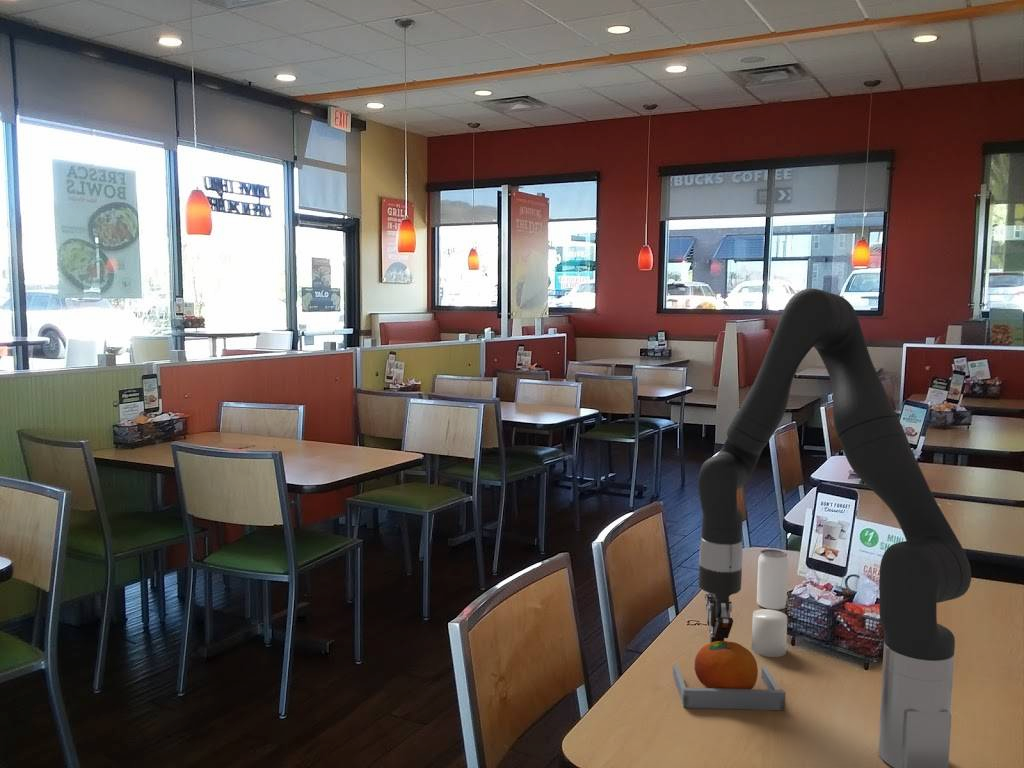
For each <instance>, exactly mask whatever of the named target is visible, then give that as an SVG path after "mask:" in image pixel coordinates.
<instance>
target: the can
mask: <svg viewBox="0 0 1024 768" xmlns="http://www.w3.org/2000/svg"><path fill="white" fill-rule="evenodd" d="M757 562H758V563H757V564H758V565H757V580H756V581H757V583H756V584H757V587H756V604H757V605H758V606H759V607H760V608H761V609H765V608H766V609H771V610H776V611H780V610H781V609H782V610H784V609H785V608H786V607H785V603H786V595H787V592H788V593H789V590H788V589H789V569H790V568H789V567H790V565H789V564H790V561H789V558H788V553H787V552H786V551H784V550H779V549H773V548H772V549H771V548H770V549H769V548H767V549H763V550H760V555H759V556H758V560H757ZM787 596H788V595H787ZM782 610H781V611H782Z"/></svg>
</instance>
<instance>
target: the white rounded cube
mask: <svg viewBox="0 0 1024 768" xmlns="http://www.w3.org/2000/svg"><path fill="white" fill-rule="evenodd" d="M751 625H752V628H751V630H752V631H751V632H752V633H751V650H752V652H754V653H756V654H757V655H759V656H763V657H766V658H767V657H768V658H780V657H783V656H785V655H786V654H787V638H788V637H787V636H788V616H787V614H786V613H784V612H782V611H780V610H770V609H765V608H760V609H756V610H754V611H753V613H752V624H751Z"/></svg>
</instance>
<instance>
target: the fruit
mask: <svg viewBox="0 0 1024 768" xmlns="http://www.w3.org/2000/svg"><path fill="white" fill-rule="evenodd" d="M694 672H695V675H696V677H697V680H699V681H700V683H701V684H702V685H703V686H704V688H721V689H754V687H755V686H756V683H757V681H758V676H759V675H758V674H759V671H758V662H757V660H756V658H755V656H754V655H753V653H752V652H751V651H750V650H749V649H747V648H746V647H745V646H743V645H742V644H739V643H737V642H733V641H726V640H724V641H715V642H712V643H710V642H709V643H707V644H705V645H703V646H702V647H701V648H700V649H699V651H698V652H697V654H696V656H695V659H694Z"/></svg>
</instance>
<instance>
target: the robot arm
mask: <svg viewBox="0 0 1024 768" xmlns="http://www.w3.org/2000/svg"><path fill="white" fill-rule="evenodd" d="M867 346H868V345H867V343H866V340H865V337H864V334H863V329H862V327H861V324H860V320H859V318H858V314H857V312H856V310H855V309H854V306H853V305H852V304H851V302H849V300H847V299H846V298H845V297H843V296H840V295H838V294H837V293H836V294H835V293H832V292H828V291H826V290H823V289H819V288H818V289H817V288H805V289H802V290H800V291H797V292H796V293H795V294H794V295H793V296H791V298H790V299H789V300H788V302H787V303H786V305H785V306H784V308H783V311H782V313H781V315H780V318H779V320H778V323H777V326H776V329H775V331H774V333H773V336H772V338H771V341H770V344H769V346H768V348H767V351H766V353H765V356H764V358H763V361H762V362H761V365H760V367H759V368H760V369H759V370H758V372H757V375H756V378H755V380H754V382H753V384H752V386H751V387H750V390H749V391H748V393H747V395H746V397H745V399H744V400H743V402H742V403H741V405H740V406H739V408H738V410H737V412H736V414H735V415H734V417H733V419H732V420H731V422H730V424H729V426H728V428H727V430H726V431H727V432H726V437H727V438H726V440H725V442H724V444H723V445H722V447H721V449H720V450H719V451H718V453H717V454H716V455H714V456H712V457H709V458H707V459H706V460H705V461H704V462H703V464H702V465H701V467H700V470H699V473H698V481H697V482H698V493H699V500H700V506H701V511H702V523H701V524H702V525H701V540H700V545H699V558H698V580H697V581H698V582H697V583H698V587H699V588H700V589H701V590H703V592H706V594H705V595H704V600H705V607H706V609H705V610H706V619H707V622H706V623H707V627H709V628H708V632H709V634H710V637H709V644H710V643H712V642H715V641H725V639H728V638H729V635H730V633H731V631H732V627H733V623H734V619H733V617H731V612H733V611H732V609H733V603H732V601H731V600H730V596H732V595H736V594H738V593H739V592H740V591H741V589H742V579H743V578H742V575H743V556H744V555H743V553H744V552H743V544H742V543H743V513H742V511H741V510H740V509H739V508H738V502H737V500H738V499H737V496H738V495H737V494H738V490H739V489H740V488H742V487H743V486H744V485H745V484H746V483H747V482H748V481H749V479H750V478H751V476H752V474H753V472H754V471H755V468H756V467H757V464H758V462H759V459H760V456H761V454H762V452H763V450H764V448H766V446H767V444H768V443H769V441H770V439H771V438H772V436H773V435H774V433H775V432H776V430H777V428H778V426H779V425H780V423H781V422H782V420H783V417H784V416H785V413H786V410H787V407H788V403H789V398H790V392H791V388H792V383H793V380H794V378H795V375H796V372H797V370H798V368H799V367H800V365H801V363H802V362H803V359H804V358H805V357H806V356H807V355H808V354H809V352H810V351H811V350H812V349H813V348H815V350H816V351H817V353H818V355H819V356H820V358H821V360H822V362H823V364H824V366H825V369H826V372H827V374H828V376H829V379H830V382H831V383H830V384H831V386H832V417H833V418H832V420H833V425H834V429H835V433H836V436H837V438H838V441H839V443H840V446H841V447H842V451H843V453H844V455H845V458H846V460H847V462H848V464H849V465H850V467H851V469H852V470H853V472H854V473H855V474H856V475H857V476H858V477H859V479H860V480H861V481H862V482H863V483H864V484H865V485H866V487H868V488H869V489H870V490H871V491H872V492H873V493H874V494H875V495H877V497H879V498H880V500H881V501H882V502H883V503H884V504H885V505H886V506H887V507H888V509H890V511H891V512H892V514H893V515H894V518H895V519H896V521H897V523H898V525H899V527H900V529H901V531H902V533H903V536H904V539H905V540H904V541H900V542H896V543H895V542H894V543H893V544H891V545H890V546H888V548H887V549H886V550H885V551H884V553H883V554H882V558H881V560H880V565H879V572H878V573H879V579H878V580H879V581H878V583H879V584H878V587H879V588H878V590H879V591H878V594H879V601H878V602H879V605H878V606H879V610H878V611H879V619H880V620H879V621H880V624H881V627H882V630H883V635H884V638H883V639H884V640H883V655H882V658H883V659H882V671H881V673H882V674H881V675H882V676H881V690H880V691H881V693H880V711H879V713H880V714H879V734H878V755H879V757H880V758H881V759H882V761H883V762H885V763H886V764H888V765H889V766H891V767H892V768H949V766H950V765H949V764H950V763H949V761H950V748H951V730H952V717H953V716H952V714H951V711H952V710H951V709H952V692H953V679H954V678H953V677H954V664H955V663H954V661H955V649H956V648H955V647H956V640H955V635H954V633H953V632H952V631H951V630H950V629H948V627H946V626H944V625H942V624H939V623H938V622H937V621H938V619H937V616H938V615H937V611H938V607H937V606H938V603H943V602H948V601H951V600H952V601H953V600H955V599H959V598H960V597H962V596H964V595H965V594H966V593H967V592H968V590H969V588H970V587H971V582H972V571H971V565H970V561H969V559H968V557H967V554H966V552H965V549H964V548H963V547H962V546H963V545H962V544H961V542H960V541H959V539H958V537H957V535H956V533H955V532H954V530H953V529H952V527H951V525H950V523H949V522H948V520H947V518H946V516H945V515H944V513H943V511H942V509H941V508H940V506H939V504H938V502H937V501H936V498H935V497H934V495H933V493H932V490H931V489H930V486H929V484H928V482H927V480H926V478H925V476H924V475H925V474H924V473H923V470H922V469H921V467H920V465H919V462H918V461H917V459H916V456H915V455H914V452H913V450H912V448H911V447H912V446H911V445H910V442H909V439H908V437H907V435H906V432H905V430H904V427H903V425H902V424H901V420H900V419H899V416H898V414H897V413H896V410H895V408H894V406H893V404H892V402H891V401H890V398H889V395H888V394H887V392H886V389H885V387H884V384H883V382H882V380H881V378H880V376H879V374H878V372H877V370H876V368H875V366H874V363H873V361H872V359H871V356H870V352H869V350H868V349H869V348H868V347H867Z"/></svg>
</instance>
